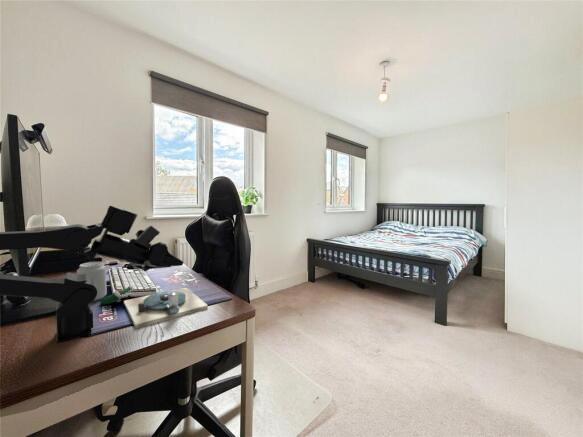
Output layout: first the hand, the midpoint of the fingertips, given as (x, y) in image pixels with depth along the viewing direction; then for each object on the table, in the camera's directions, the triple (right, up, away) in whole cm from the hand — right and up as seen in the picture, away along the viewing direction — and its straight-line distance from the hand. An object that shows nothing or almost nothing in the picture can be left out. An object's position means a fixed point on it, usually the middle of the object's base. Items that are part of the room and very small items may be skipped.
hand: (176, 264), depth 77 cm
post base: (-5, -14, +3) cm, 15 cm away
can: (-32, -13, +7) cm, 35 cm away
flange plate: (-4, -12, +2) cm, 13 cm away
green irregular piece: (-22, -13, +7) cm, 27 cm away
